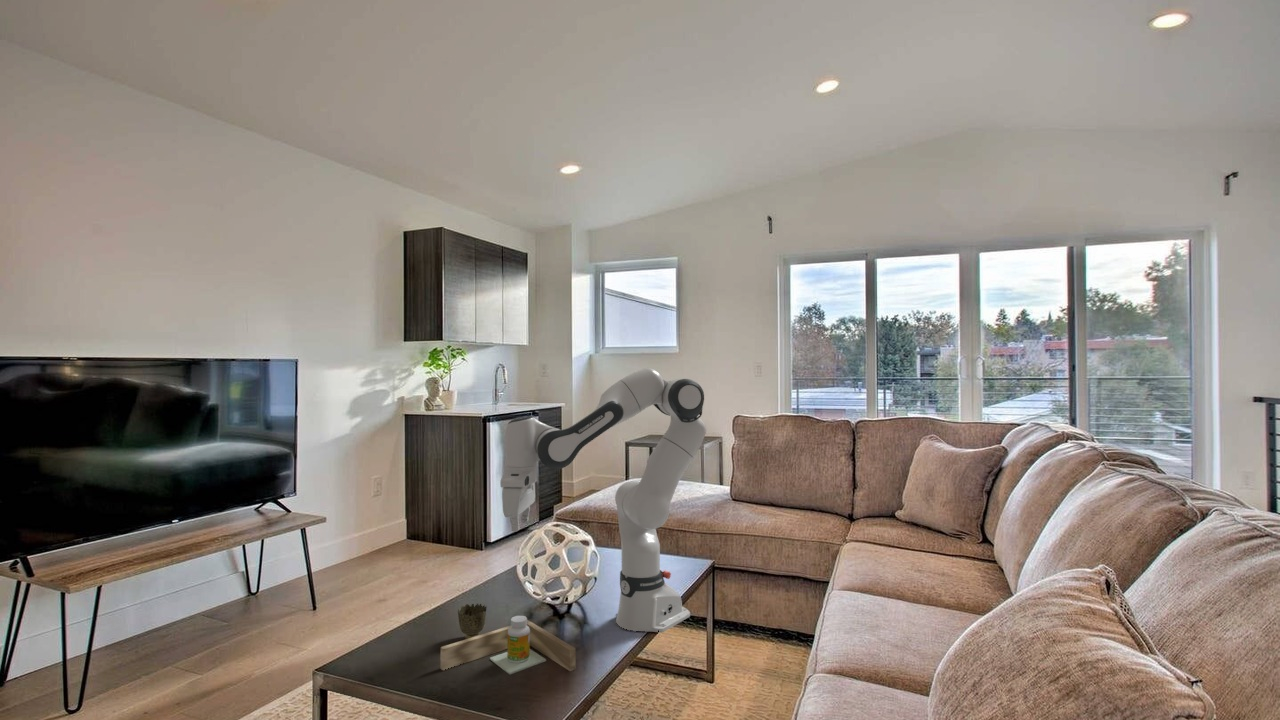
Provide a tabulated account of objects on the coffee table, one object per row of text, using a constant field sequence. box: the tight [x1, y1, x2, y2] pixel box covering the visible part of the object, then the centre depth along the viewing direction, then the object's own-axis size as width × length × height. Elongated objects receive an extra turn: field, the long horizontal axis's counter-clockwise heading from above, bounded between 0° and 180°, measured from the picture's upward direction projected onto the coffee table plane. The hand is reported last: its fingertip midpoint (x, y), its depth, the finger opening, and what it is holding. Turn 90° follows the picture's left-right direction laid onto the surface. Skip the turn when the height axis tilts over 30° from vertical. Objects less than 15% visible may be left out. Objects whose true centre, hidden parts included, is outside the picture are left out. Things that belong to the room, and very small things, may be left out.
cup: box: [457, 603, 487, 639], centre depth 158 cm, size 8×7×8 cm
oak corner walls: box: [439, 619, 576, 672], centre depth 141 cm, size 24×22×5 cm
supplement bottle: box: [506, 615, 531, 663], centre depth 145 cm, size 5×5×10 cm
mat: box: [489, 648, 547, 675], centre depth 145 cm, size 10×10×1 cm
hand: (520, 526), depth 161 cm, fingers open, 8 cm apart
